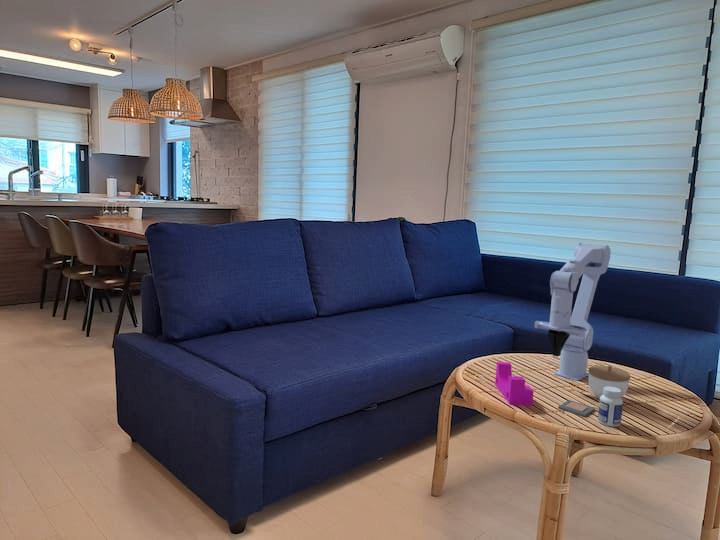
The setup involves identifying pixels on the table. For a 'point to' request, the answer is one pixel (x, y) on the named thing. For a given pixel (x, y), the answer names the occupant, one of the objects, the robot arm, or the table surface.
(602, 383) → the lidded jar
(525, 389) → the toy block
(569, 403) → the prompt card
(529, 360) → the table surface
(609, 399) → the pill bottle
